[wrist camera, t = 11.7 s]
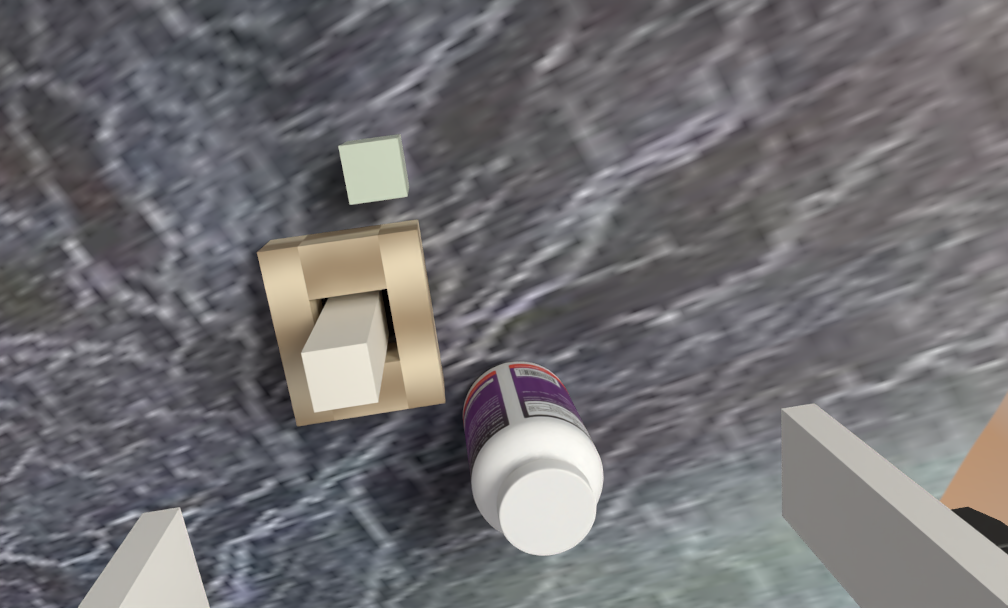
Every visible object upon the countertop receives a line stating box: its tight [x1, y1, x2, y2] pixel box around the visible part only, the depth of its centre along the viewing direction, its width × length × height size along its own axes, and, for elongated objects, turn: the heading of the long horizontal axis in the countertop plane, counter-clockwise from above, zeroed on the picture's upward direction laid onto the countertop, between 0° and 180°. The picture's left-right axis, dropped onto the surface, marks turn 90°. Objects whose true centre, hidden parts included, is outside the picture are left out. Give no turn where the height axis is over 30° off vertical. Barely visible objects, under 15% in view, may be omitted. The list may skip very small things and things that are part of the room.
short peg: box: [338, 134, 409, 205], centre depth 44 cm, size 4×4×5 cm
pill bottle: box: [463, 361, 603, 556], centre depth 46 cm, size 8×8×14 cm
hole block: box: [257, 220, 445, 426], centre depth 47 cm, size 12×10×4 cm
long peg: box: [301, 290, 389, 412], centre depth 44 cm, size 4×4×12 cm
